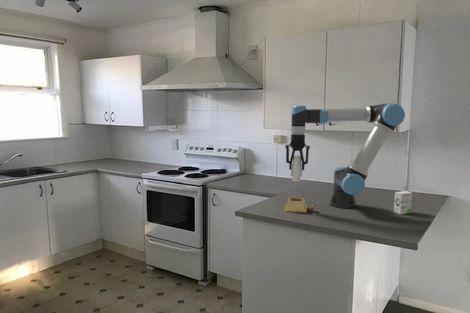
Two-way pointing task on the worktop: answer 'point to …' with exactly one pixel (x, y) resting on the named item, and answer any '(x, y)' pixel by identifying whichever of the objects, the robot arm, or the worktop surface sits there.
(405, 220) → the worktop surface
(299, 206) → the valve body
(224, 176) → the worktop surface
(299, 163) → the pipe stub
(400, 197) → the ink box
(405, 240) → the worktop surface
